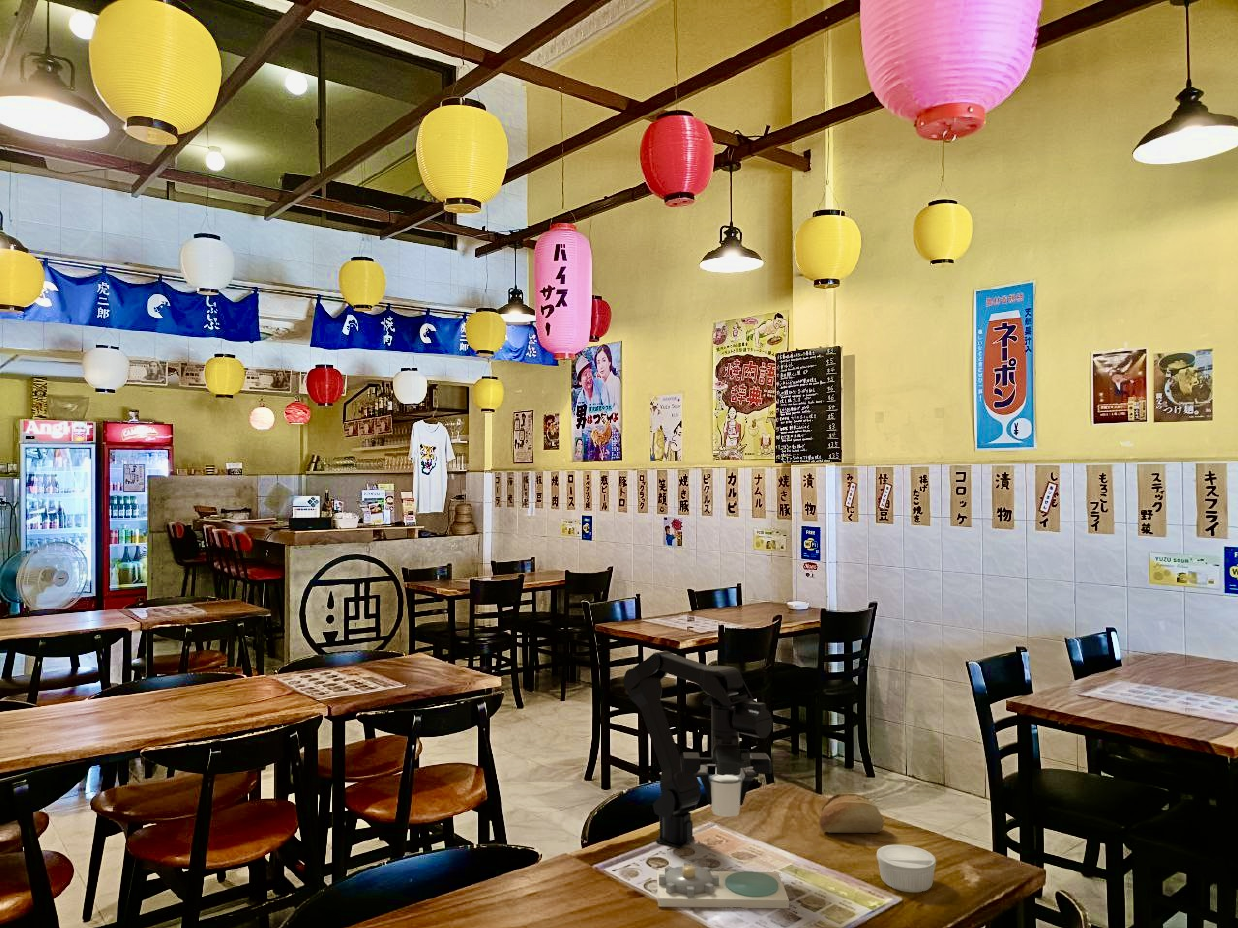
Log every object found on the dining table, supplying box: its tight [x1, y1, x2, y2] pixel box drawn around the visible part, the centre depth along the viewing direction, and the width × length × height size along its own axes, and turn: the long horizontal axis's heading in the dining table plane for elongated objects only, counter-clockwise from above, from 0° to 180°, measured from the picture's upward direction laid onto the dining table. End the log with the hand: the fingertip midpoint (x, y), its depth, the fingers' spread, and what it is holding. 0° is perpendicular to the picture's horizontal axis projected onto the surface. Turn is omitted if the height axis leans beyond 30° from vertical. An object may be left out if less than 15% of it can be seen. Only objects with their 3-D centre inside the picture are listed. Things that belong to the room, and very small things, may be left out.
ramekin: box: [876, 844, 937, 893], centre depth 164 cm, size 11×11×5 cm
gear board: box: [656, 863, 790, 909], centre depth 159 cm, size 24×12×4 cm, turn 89°
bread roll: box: [819, 792, 885, 834], centre depth 190 cm, size 10×15×8 cm, turn 98°
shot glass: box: [709, 773, 742, 818], centre depth 175 cm, size 7×7×7 cm
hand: (725, 804), depth 174 cm, fingers closed on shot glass, 6 cm apart
